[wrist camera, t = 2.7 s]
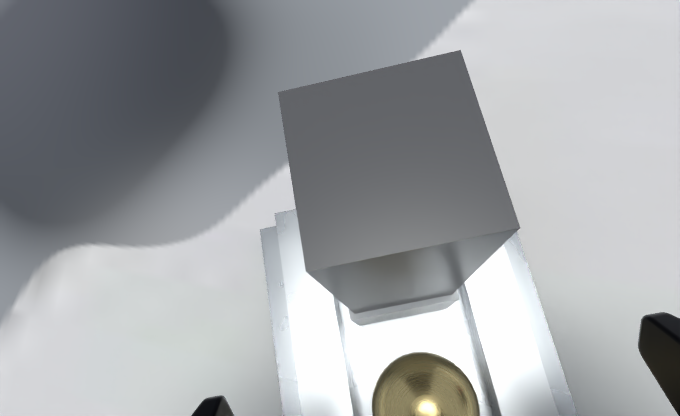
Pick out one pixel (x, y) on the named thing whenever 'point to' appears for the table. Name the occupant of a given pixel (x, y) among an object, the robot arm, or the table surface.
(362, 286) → the tall gray pillar
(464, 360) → the slot rail
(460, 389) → the brass sphere
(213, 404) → the robot arm
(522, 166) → the table surface
